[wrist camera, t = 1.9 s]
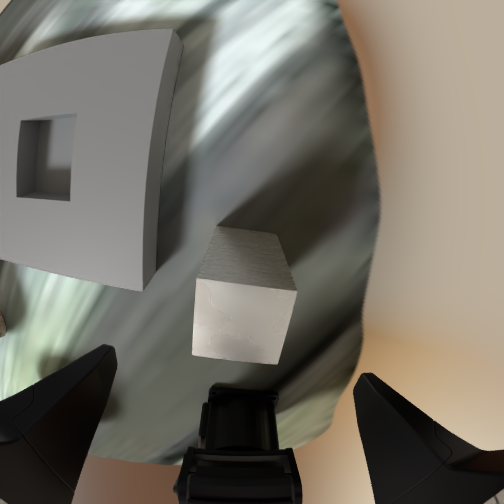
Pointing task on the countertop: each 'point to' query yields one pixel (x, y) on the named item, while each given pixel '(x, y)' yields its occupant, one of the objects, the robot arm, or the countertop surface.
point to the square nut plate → (87, 155)
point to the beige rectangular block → (243, 297)
